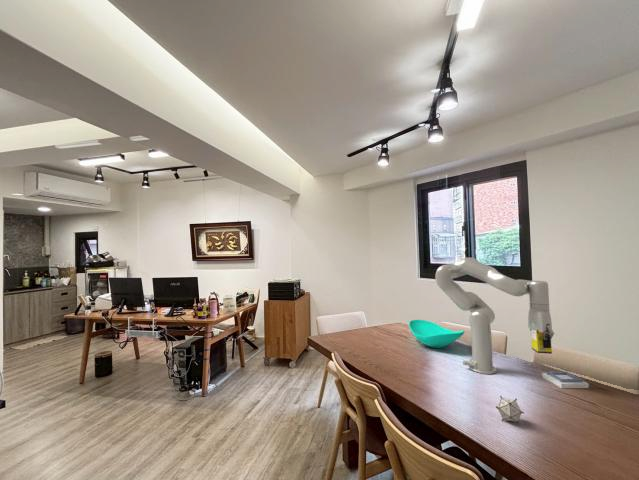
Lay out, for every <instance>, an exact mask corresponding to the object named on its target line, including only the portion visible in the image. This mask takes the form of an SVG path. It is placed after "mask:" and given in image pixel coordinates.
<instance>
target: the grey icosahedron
mask: <svg viewBox="0 0 639 480" xmlns="http://www.w3.org/2000/svg"><path fill="white" fill-rule="evenodd" d="M499 397H500V399H499V403H498V405H497V406H495V408H496V409H498V412H499V414H500V416H501V418H502V419H501V422H503V421H509V422H510V421H511V422H514V423H516V424H518V425H520V423H519V420H520V417H521V415H522V414H525V412H524V411H522V409H521V408H520V406H519V404H518V402H517V400H518V399H517V398H515V399H510V398H505V397H502V395H499Z"/></svg>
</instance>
